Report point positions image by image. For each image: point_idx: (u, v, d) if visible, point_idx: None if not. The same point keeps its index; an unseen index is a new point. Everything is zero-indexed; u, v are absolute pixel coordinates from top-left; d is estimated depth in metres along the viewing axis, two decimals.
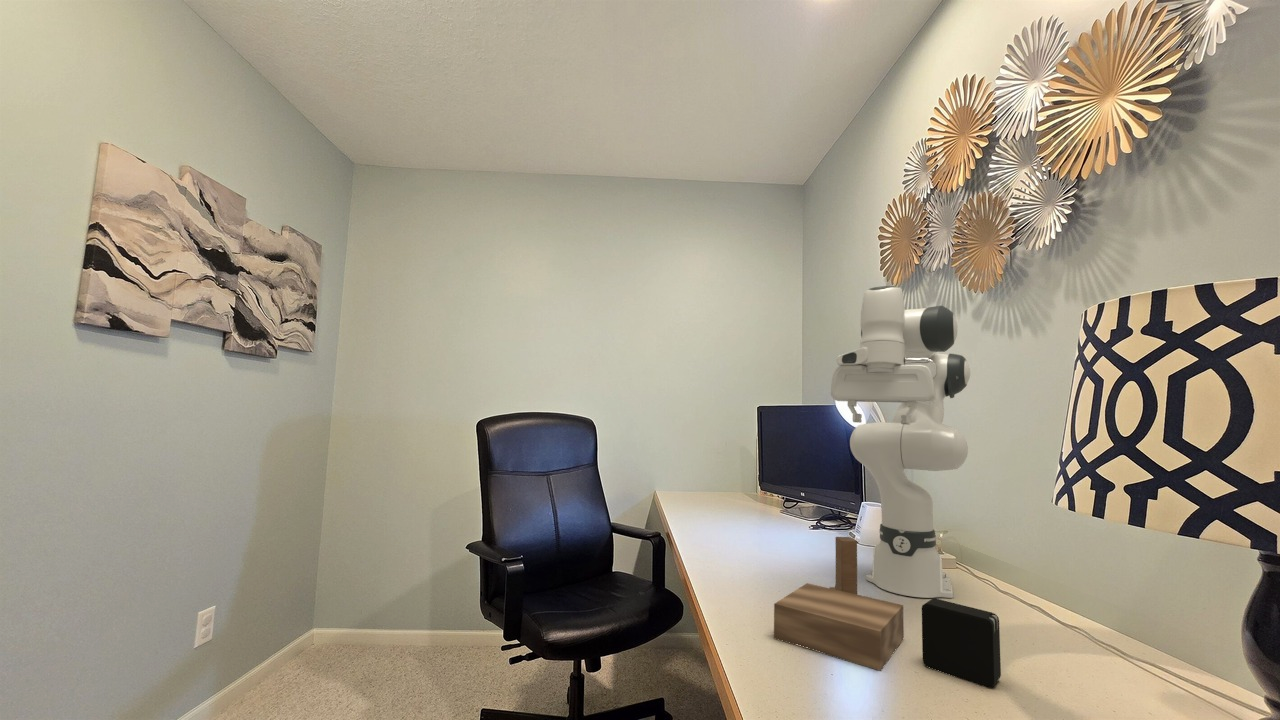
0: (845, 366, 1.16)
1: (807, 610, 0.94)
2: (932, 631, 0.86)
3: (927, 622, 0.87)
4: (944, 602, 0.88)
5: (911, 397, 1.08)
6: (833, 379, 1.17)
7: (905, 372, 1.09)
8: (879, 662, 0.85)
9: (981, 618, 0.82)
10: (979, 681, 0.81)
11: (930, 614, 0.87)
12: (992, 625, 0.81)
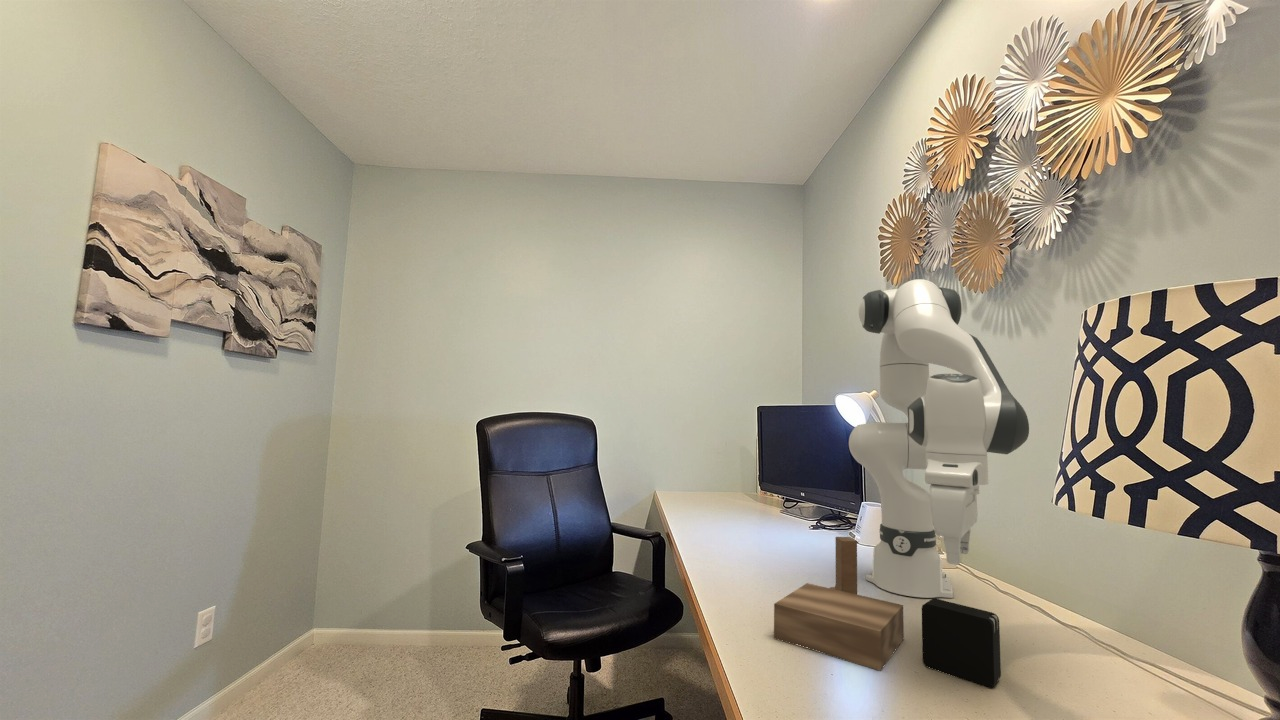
0: (969, 489, 0.81)
1: (807, 610, 0.94)
2: (932, 631, 0.86)
3: (927, 622, 0.87)
4: (944, 602, 0.88)
5: (974, 521, 0.91)
6: (964, 509, 0.79)
7: None
8: (879, 662, 0.85)
9: (981, 618, 0.82)
10: (979, 681, 0.81)
11: (930, 614, 0.87)
12: (992, 625, 0.81)
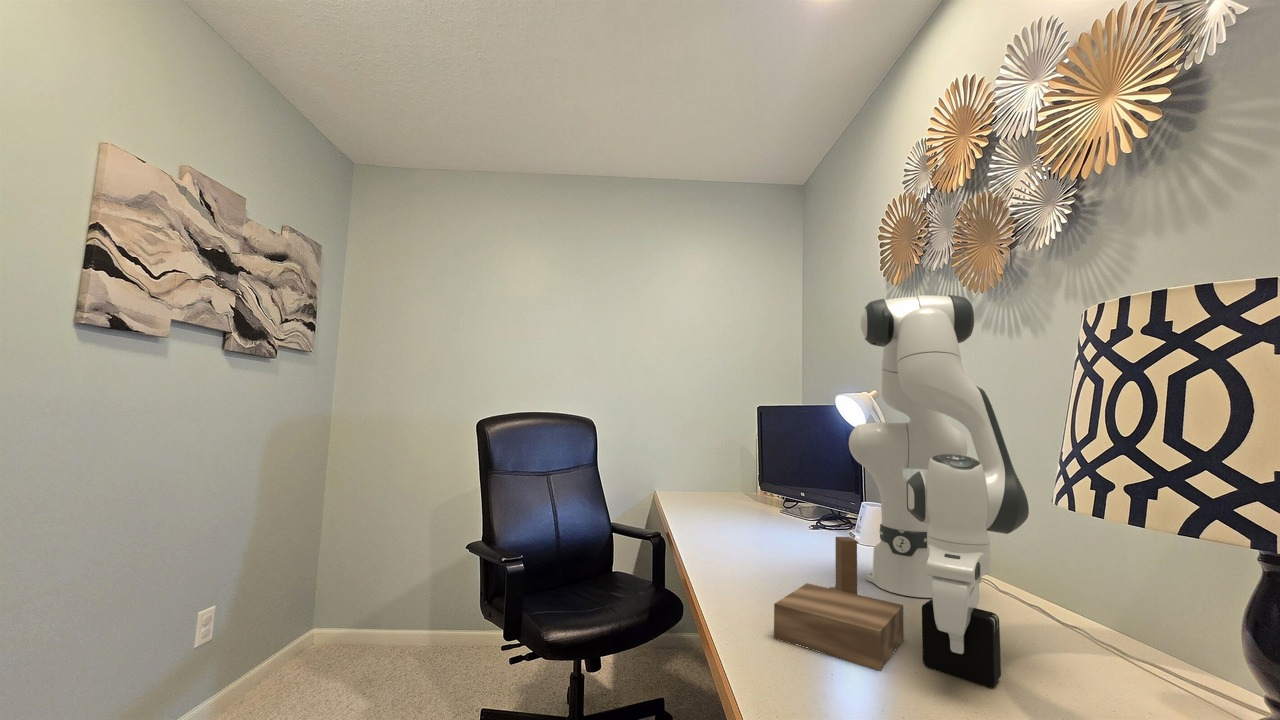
0: (971, 583, 0.80)
1: (807, 610, 0.94)
2: (932, 631, 0.86)
3: (927, 622, 0.87)
4: None
5: (976, 604, 0.89)
6: (966, 606, 0.78)
7: None
8: (879, 662, 0.85)
9: (981, 618, 0.82)
10: (979, 681, 0.81)
11: (930, 614, 0.87)
12: (992, 625, 0.81)
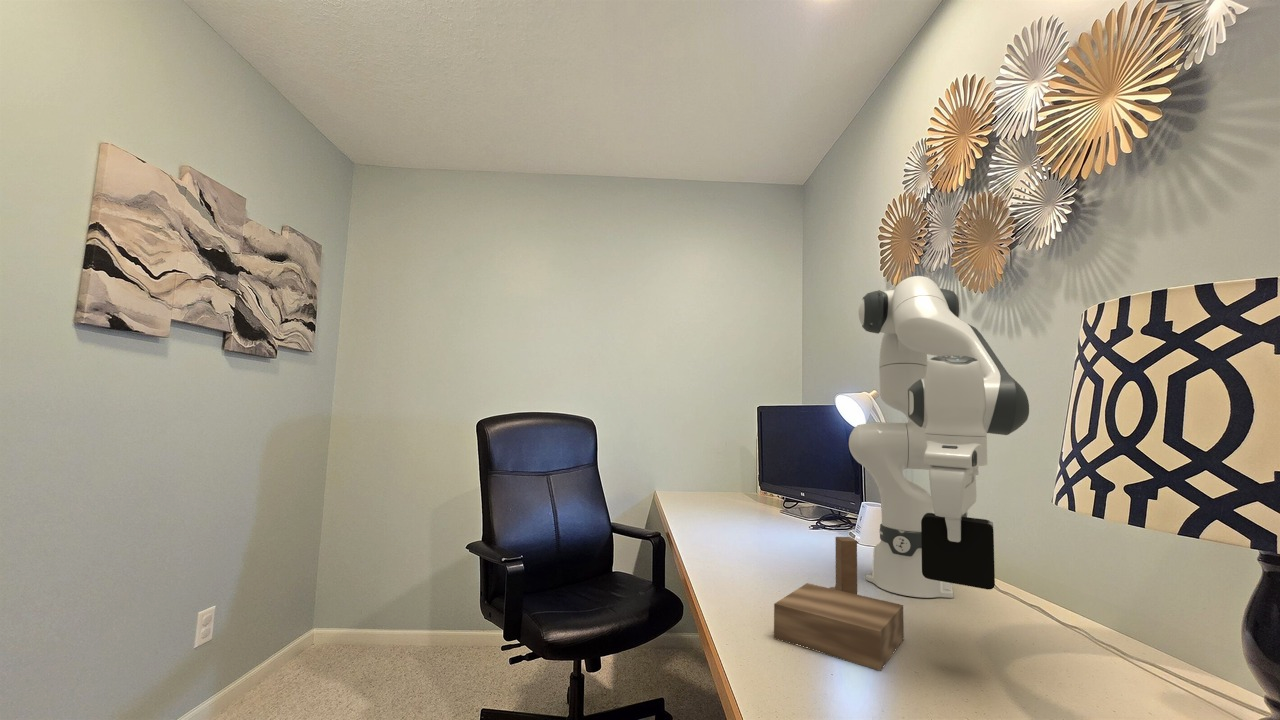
0: (968, 470, 0.81)
1: (807, 610, 0.94)
2: (932, 542, 0.87)
3: (927, 534, 0.88)
4: None
5: (973, 501, 0.91)
6: (963, 490, 0.79)
7: None
8: (879, 662, 0.85)
9: (982, 523, 0.84)
10: (980, 584, 0.83)
11: (930, 526, 0.88)
12: (992, 529, 0.83)
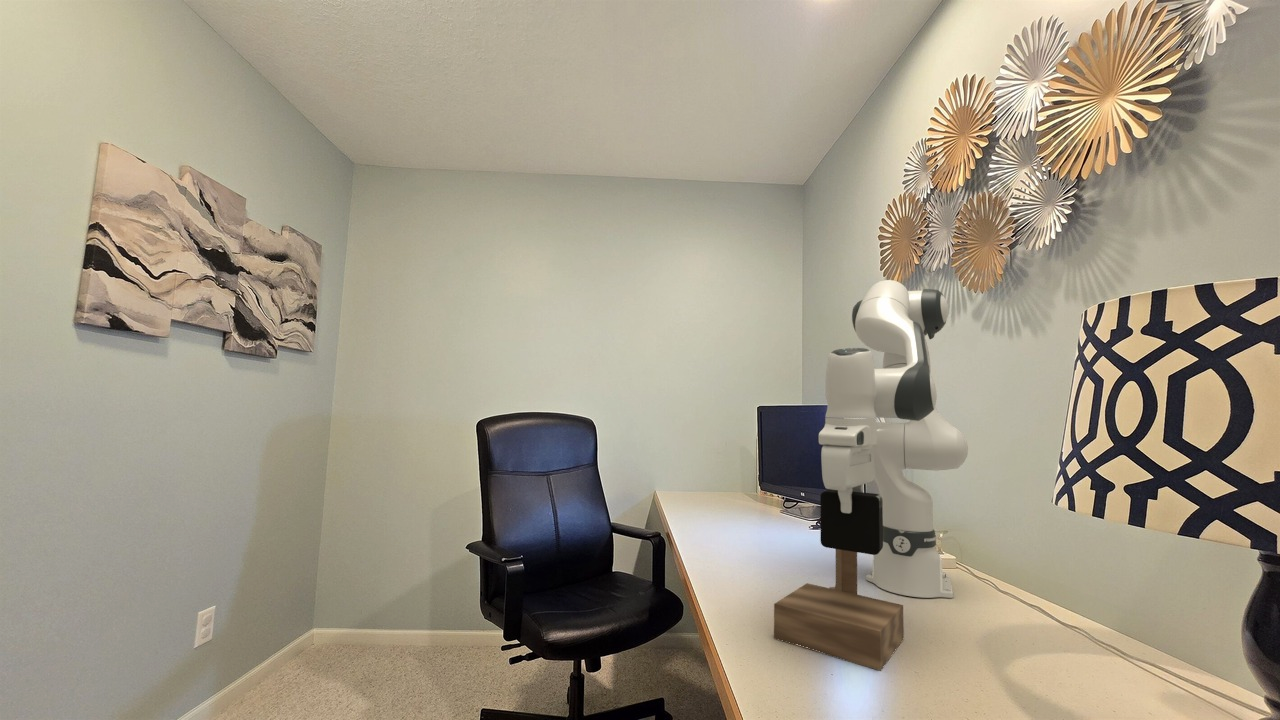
0: (854, 448, 0.92)
1: (807, 610, 0.94)
2: (829, 514, 0.98)
3: (825, 507, 0.98)
4: None
5: (869, 479, 1.02)
6: (848, 465, 0.90)
7: None
8: (879, 662, 0.85)
9: (870, 496, 0.94)
10: (867, 550, 0.94)
11: (827, 500, 0.98)
12: (878, 501, 0.94)
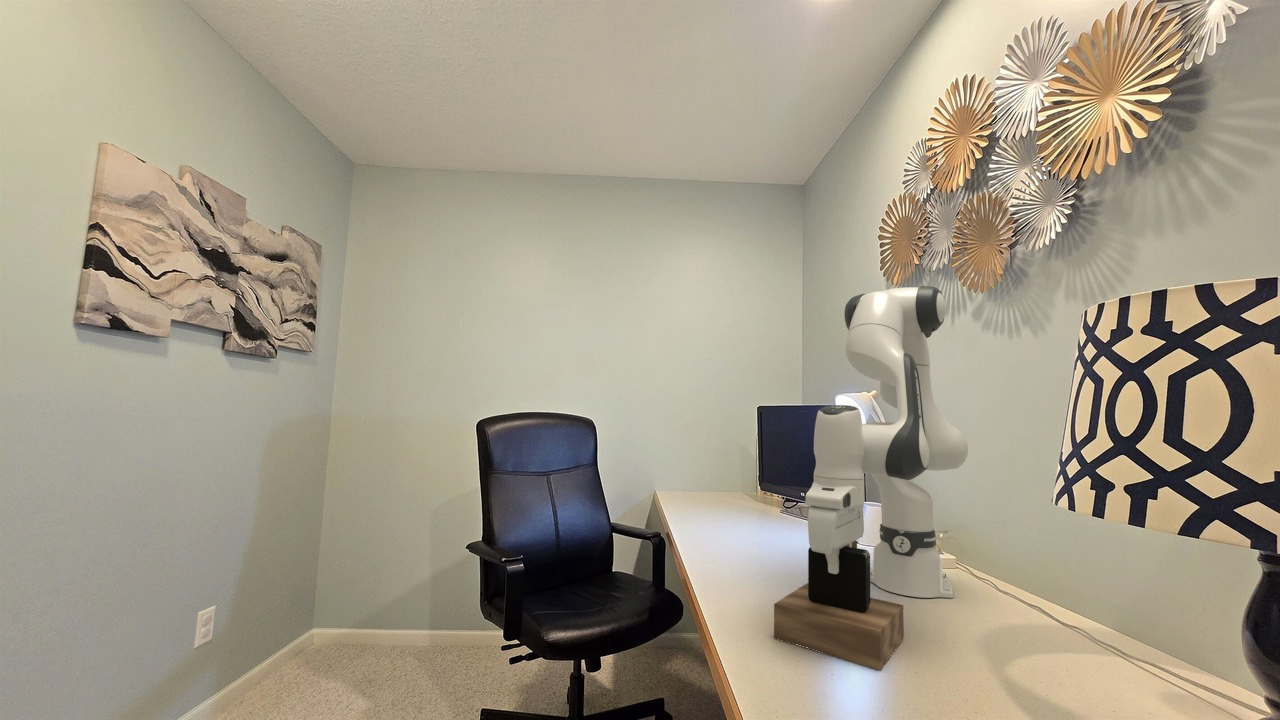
0: (841, 510, 0.92)
1: (807, 610, 0.94)
2: (816, 570, 0.98)
3: (812, 562, 0.98)
4: None
5: (858, 536, 1.02)
6: (834, 529, 0.90)
7: None
8: (879, 662, 0.85)
9: (857, 554, 0.95)
10: (854, 608, 0.94)
11: (815, 555, 0.98)
12: (865, 559, 0.94)
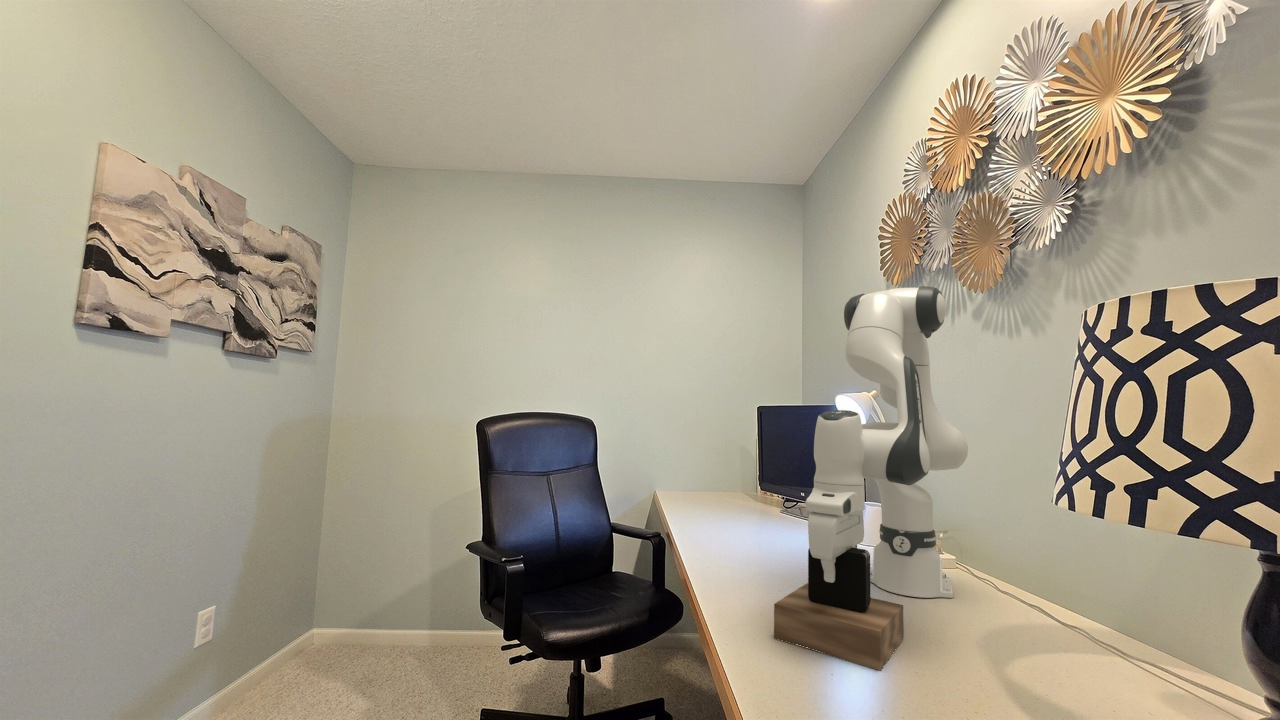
0: (841, 516, 0.92)
1: (807, 610, 0.94)
2: (816, 570, 0.98)
3: (812, 562, 0.98)
4: None
5: (858, 541, 1.02)
6: (834, 535, 0.90)
7: (856, 514, 1.01)
8: (879, 662, 0.85)
9: (856, 554, 0.95)
10: (854, 608, 0.94)
11: None
12: (865, 559, 0.94)
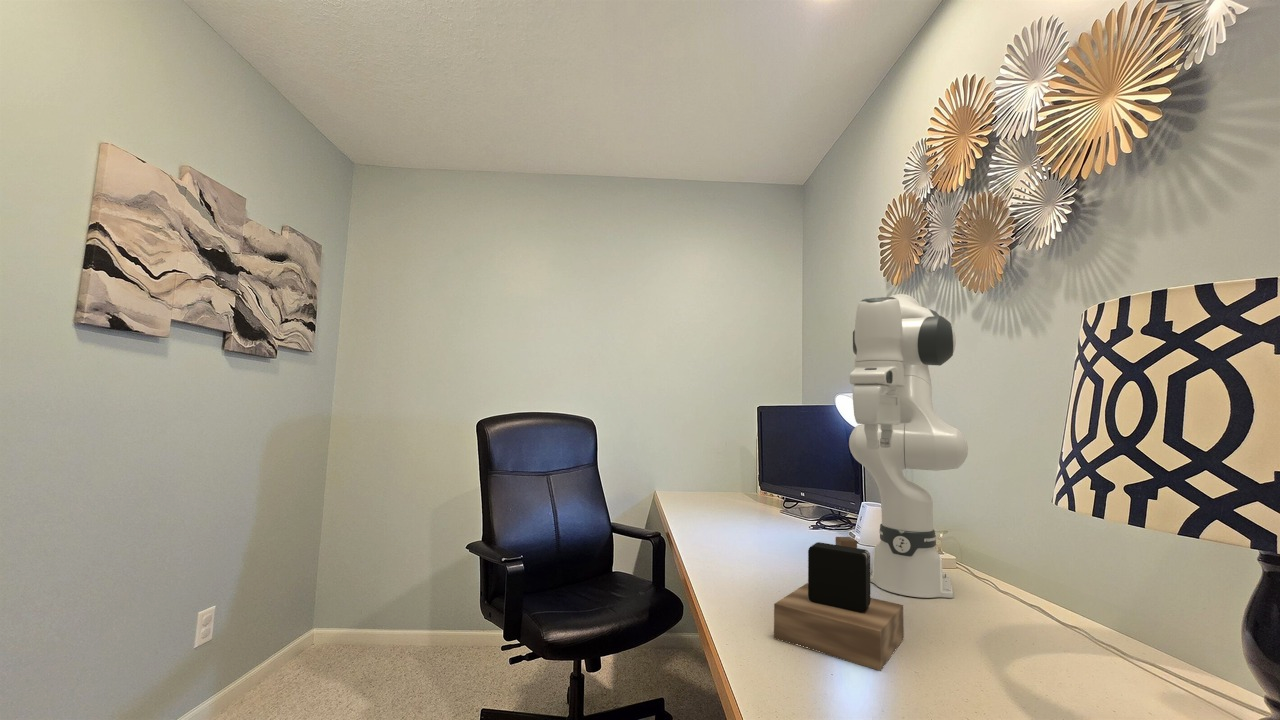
0: (884, 386, 0.98)
1: (807, 610, 0.94)
2: (816, 570, 0.98)
3: (812, 562, 0.98)
4: (826, 544, 1.00)
5: (896, 421, 1.08)
6: (878, 400, 0.96)
7: (894, 395, 1.08)
8: (879, 662, 0.85)
9: (856, 554, 0.95)
10: (854, 608, 0.94)
11: (815, 555, 0.98)
12: (865, 559, 0.94)
